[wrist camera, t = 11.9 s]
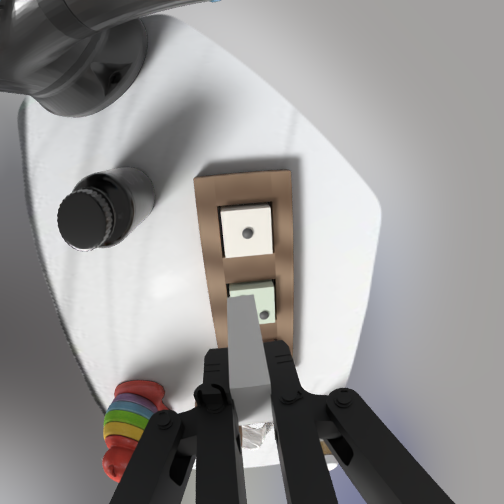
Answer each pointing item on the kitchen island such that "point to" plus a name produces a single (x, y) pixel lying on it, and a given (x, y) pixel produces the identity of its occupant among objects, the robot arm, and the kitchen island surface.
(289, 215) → the button board
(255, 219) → the one-pip button
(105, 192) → the supplement bottle
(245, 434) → the crumpled white paper
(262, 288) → the two-pip button
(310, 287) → the kitchen island surface
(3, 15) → the robot arm
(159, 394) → the stacking bear
